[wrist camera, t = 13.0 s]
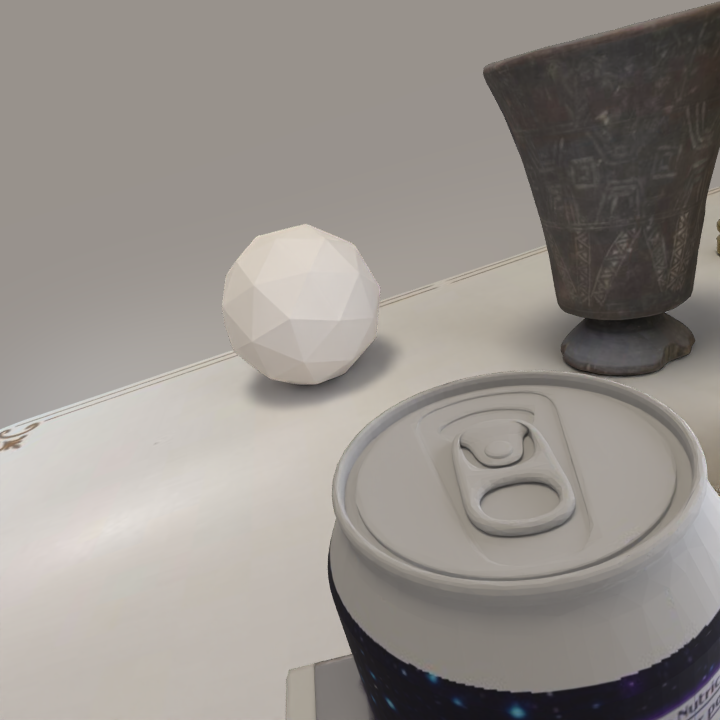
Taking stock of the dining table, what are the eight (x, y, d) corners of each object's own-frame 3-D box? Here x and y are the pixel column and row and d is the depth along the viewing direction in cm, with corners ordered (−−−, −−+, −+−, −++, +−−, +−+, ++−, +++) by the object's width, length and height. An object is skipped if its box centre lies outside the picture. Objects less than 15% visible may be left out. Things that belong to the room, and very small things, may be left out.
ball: (373, 410, 74) (435, 293, 62) (226, 426, 64) (264, 290, 52) (324, 316, 85) (367, 201, 73) (192, 317, 75) (216, 184, 63)
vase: (483, 378, 60) (433, 78, 49) (579, 303, 73) (557, 49, 61) (712, 423, 44) (718, -7, 33) (785, 318, 57) (809, -23, 45)
